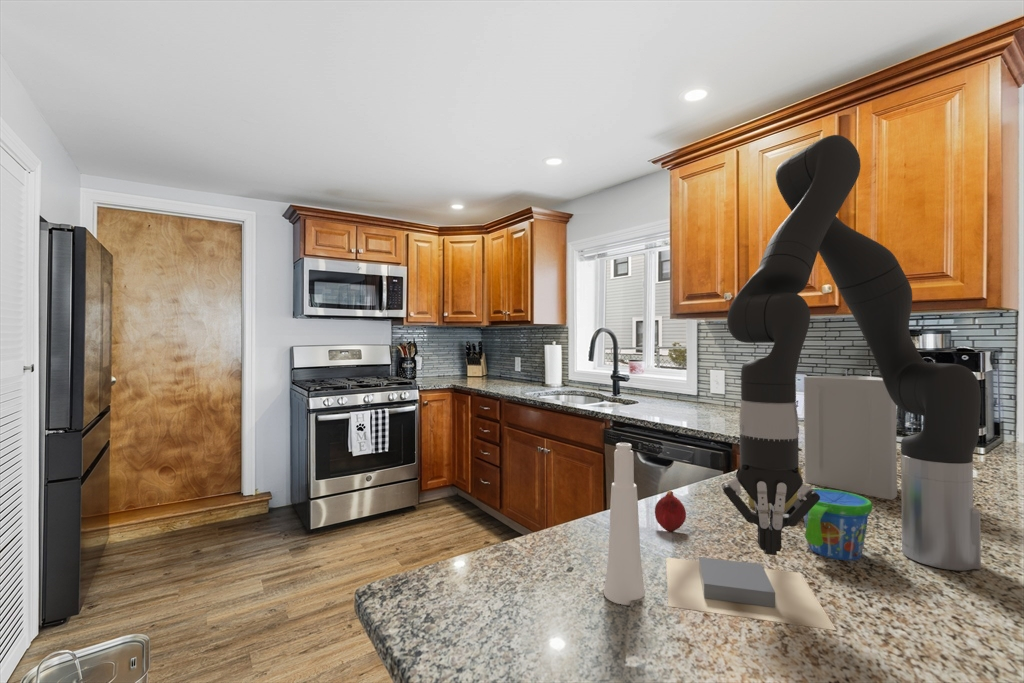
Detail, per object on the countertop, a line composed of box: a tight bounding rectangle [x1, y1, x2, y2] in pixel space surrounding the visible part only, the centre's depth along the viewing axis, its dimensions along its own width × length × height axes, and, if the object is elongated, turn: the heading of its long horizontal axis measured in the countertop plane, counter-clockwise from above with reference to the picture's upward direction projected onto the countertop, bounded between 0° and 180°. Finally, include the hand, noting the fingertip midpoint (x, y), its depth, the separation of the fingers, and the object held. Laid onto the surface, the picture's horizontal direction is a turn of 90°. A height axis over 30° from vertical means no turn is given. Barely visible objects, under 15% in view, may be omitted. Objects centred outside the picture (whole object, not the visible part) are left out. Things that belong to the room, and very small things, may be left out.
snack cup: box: [803, 488, 874, 562], centre depth 84 cm, size 16×10×10 cm
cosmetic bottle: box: [603, 442, 646, 606], centre depth 71 cm, size 6×6×22 cm
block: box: [698, 556, 775, 607], centre depth 71 cm, size 2×9×9 cm
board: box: [665, 556, 837, 632], centre depth 71 cm, size 20×16×1 cm
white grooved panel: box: [803, 375, 898, 501], centre depth 127 cm, size 19×15×28 cm
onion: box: [654, 490, 687, 533], centre depth 95 cm, size 6×6×8 cm
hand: (769, 552), depth 70 cm, fingers closed
